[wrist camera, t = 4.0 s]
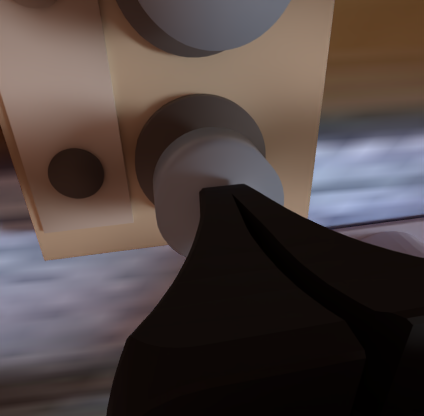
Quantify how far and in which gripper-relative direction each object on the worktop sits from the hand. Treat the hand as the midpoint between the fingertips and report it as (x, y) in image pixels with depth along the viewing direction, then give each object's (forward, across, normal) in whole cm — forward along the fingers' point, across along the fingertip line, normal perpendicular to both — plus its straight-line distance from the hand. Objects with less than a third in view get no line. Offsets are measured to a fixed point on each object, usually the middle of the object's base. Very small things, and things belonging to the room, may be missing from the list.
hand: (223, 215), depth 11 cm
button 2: (+2, 0, 0) cm, 2 cm away
